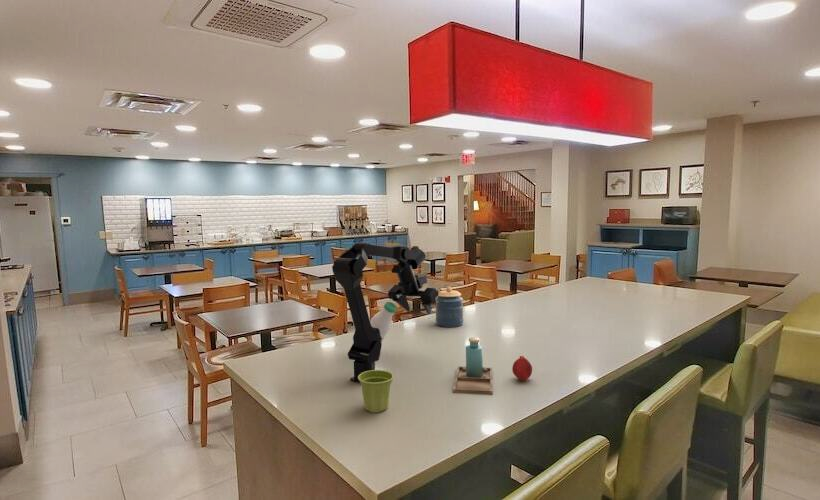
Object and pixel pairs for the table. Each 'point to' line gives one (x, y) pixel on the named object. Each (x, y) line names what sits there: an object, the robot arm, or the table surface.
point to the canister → (449, 308)
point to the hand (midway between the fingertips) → (419, 312)
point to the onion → (522, 368)
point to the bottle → (474, 359)
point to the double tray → (473, 382)
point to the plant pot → (376, 389)
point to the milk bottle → (383, 319)
